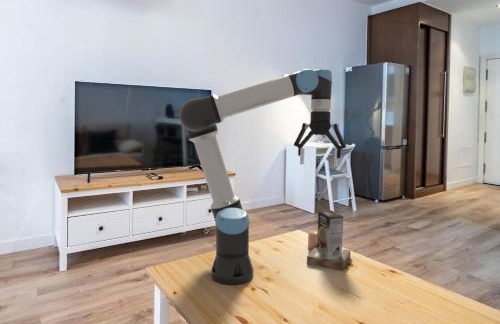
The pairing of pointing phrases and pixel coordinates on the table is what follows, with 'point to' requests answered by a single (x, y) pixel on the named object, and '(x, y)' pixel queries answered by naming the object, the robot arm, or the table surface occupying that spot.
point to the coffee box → (330, 233)
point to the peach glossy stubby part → (312, 239)
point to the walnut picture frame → (328, 259)
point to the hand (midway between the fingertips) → (318, 165)
